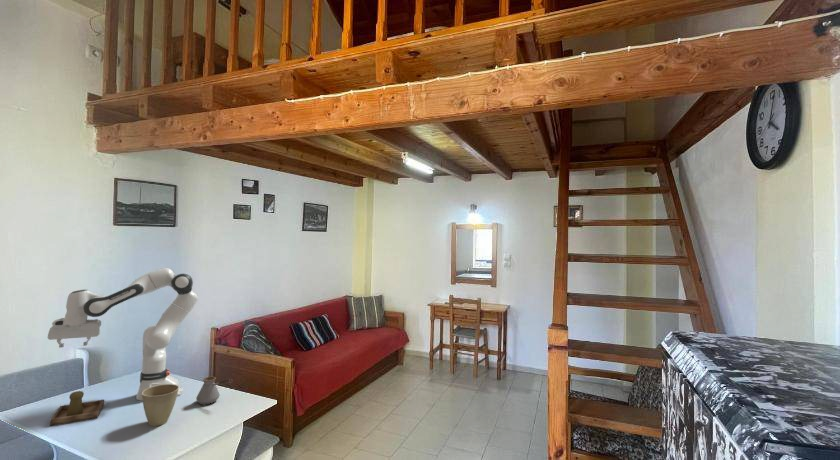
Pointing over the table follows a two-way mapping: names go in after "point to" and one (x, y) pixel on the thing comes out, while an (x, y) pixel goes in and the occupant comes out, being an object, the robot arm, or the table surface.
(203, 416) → the table surface
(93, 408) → the walnut tray
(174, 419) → the table surface
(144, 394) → the plant pot
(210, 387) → the coffee pot
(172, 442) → the table surface
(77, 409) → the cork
